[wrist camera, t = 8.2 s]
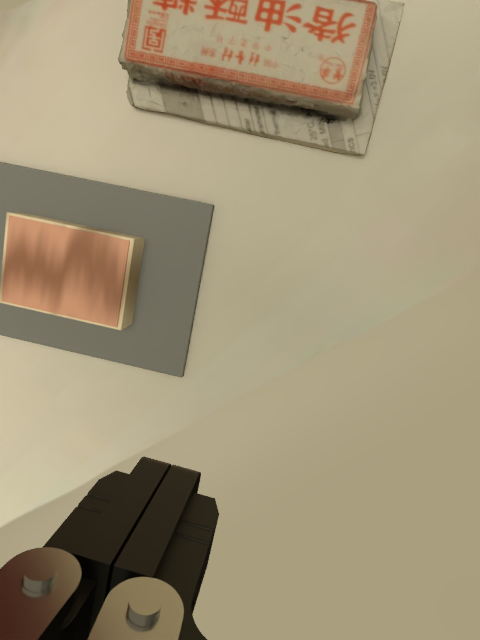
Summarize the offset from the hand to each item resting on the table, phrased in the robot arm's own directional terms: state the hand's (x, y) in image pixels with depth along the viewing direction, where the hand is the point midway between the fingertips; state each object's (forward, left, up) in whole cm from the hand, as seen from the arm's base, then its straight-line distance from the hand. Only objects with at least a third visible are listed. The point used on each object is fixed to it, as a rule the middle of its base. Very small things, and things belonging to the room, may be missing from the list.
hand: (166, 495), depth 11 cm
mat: (-1, -14, -26) cm, 29 cm away
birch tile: (-1, -10, -24) cm, 26 cm away
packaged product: (-18, -4, -26) cm, 32 cm away
